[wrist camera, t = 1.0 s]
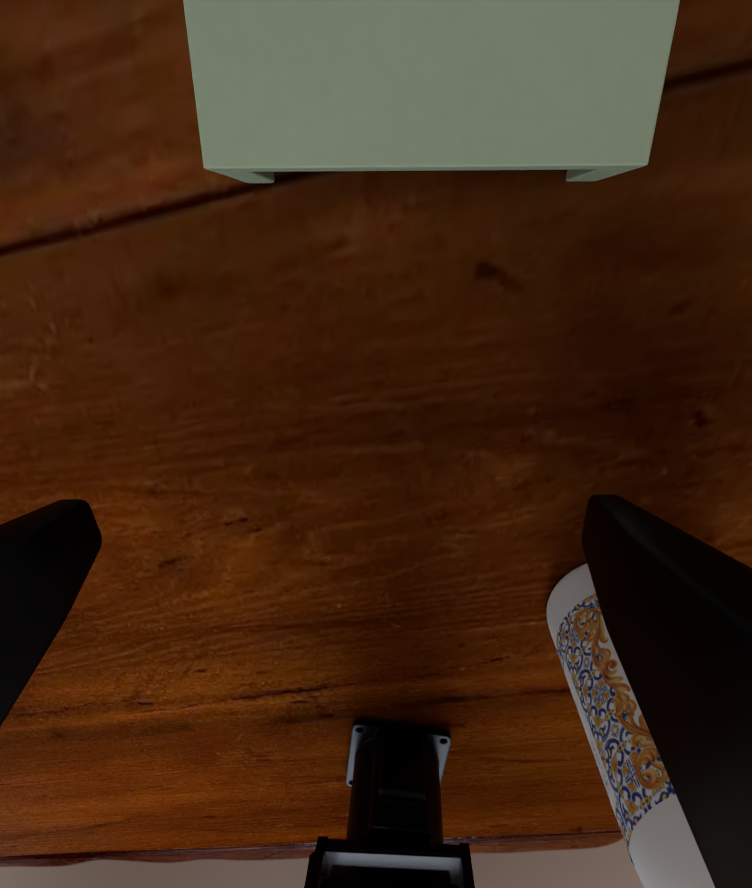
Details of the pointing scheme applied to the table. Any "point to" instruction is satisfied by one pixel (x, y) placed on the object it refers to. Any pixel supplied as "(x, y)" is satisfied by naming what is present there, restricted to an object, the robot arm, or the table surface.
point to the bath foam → (622, 741)
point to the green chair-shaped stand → (428, 84)
